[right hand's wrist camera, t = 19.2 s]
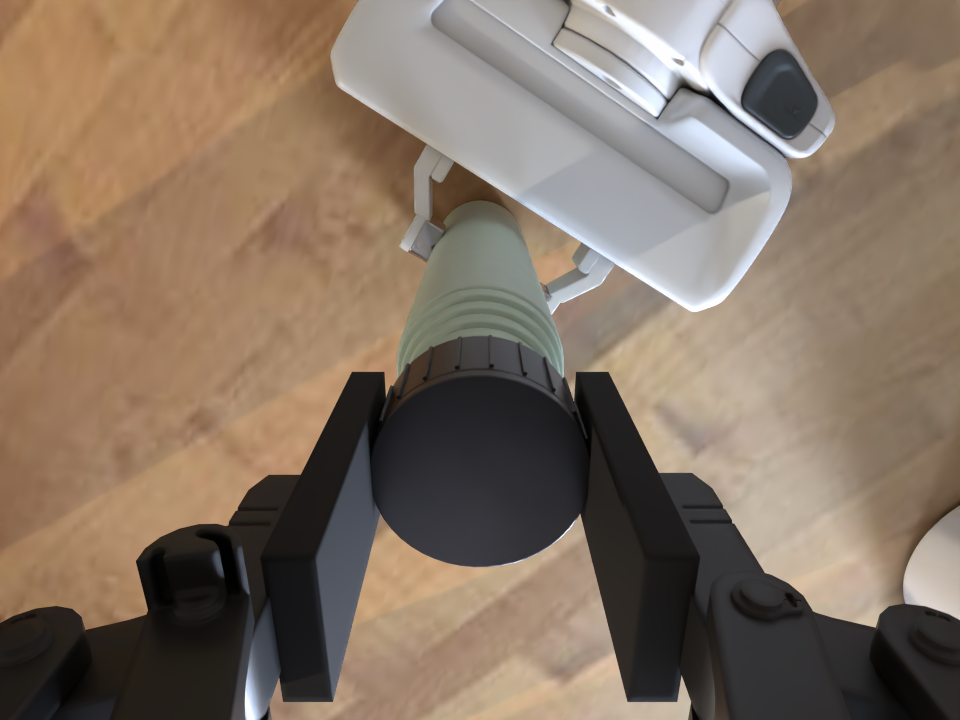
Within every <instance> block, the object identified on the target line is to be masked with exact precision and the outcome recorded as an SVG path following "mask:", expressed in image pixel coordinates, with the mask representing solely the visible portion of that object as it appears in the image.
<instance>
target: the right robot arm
mask: <svg viewBox="0 0 960 720" xmlns="http://www.w3.org/2000/svg"><path fill="white" fill-rule="evenodd" d="M385 400H386V392H385V376H384V372H352V373H351V375H350V377H349V379H348V381H347V383H346V385H345V387H344V389H343V391H342V393H341V395H340V397H339V399H338V401H337V403H336V405H335V407H334V409H333V411H332V413H331V415H330V417H329V419H328V421H327V423H326V425H325V427H324V429H323V431H322V433H321V435H320V437H319V439H318V441H317V443H316V445H315V447H314V449H313V451H312V453H311V455H310V458H309V460H308V462H307V464H306V466H305V468H304V470H303V472H302V474H301V475H268V476H267V477H265V478H264V479H263V480H261V481H260V482H259V483H257V484H256V485H255V486H253V487H252V488H251V489H249V490H248V492H247V494H246V495H245V497H244V498H243V500H242V502H241V503H240V505H239V507H238V511H235V513H234V515H233V516H232V518H231V519H230V521H229V526H223V525H219V524H198V525H194V526H189V527H185V528H181V529H178V530H176V531H173V532H171V533H169V534H167V535H164V536H162V537H160V538H159V539H157V540H156V541H155V542H153V543H152V544H151V545H149V546H148V547H147V548H145V549H144V551H143V552H142V554H141V555H140V556H139V558H138V559H137V560H136V563H137V567H138V571H139V575H140V579H141V583H142V587H143V591H144V595H145V599H146V603H147V607H148V612H147V615H144V616H141V617H137V618H134V619H131V620H127V621H123V622H118V623H114V624H110V625H105V626H101V627H97V628H92V629H88V630H85V627H84V624H83V621H82V617H81V616H80V615H79V614H77V613H76V612H75V611H74V610H73V609H70V608H64V607H58V606H53V607H45V608H37V609H33V610H30V611H27V612H24V613H21V614H18V615H15V616H13V617H11V618H9V619H7V620H5V621H3V622H2V623H0V720H272V719H271V712H270V707H269V704H270V701H271V698H272V695H273V692H274V690H275V687H276V684H277V681H278V678H280V684H281V691H282V697H283V702H333V699H334V695H335V691H336V687H337V683H338V679H339V675H340V671H341V667H342V663H343V659H344V655H345V651H346V647H347V643H348V639H349V635H350V631H351V627H352V623H353V619H354V615H355V611H356V607H357V603H358V599H359V595H360V591H361V587H362V583H363V579H364V575H365V571H366V567H367V563H368V559H369V555H370V551H371V547H372V543H373V539H374V536H375V532H376V528H377V524H378V520H379V516H380V511H379V510H378V508H377V505H376V503H375V500H374V498H373V494H372V482H371V468H370V455H371V451H372V446H373V443H374V440H375V437H376V434H377V431H378V428H379V425H380V424H379V423H378V421H379V418H380V415H381V412H382V409H383V406H384V403H385ZM574 402H576V404H577V407H578V410H579V413H580V416H581V419H582V422H583V425H584V428H585V431H586V434H587V437H588V441H587V445H588V449H589V453H590V474H589V487H588V497H587V499H586V502H585V504H584V507H583V509H582V511H581V512H580V514H581V518H582V522H583V526H584V530H585V534H586V538H587V542H588V546H589V550H590V554H591V558H592V562H593V566H594V570H595V574H596V578H597V582H598V586H599V590H600V594H601V598H602V602H603V606H604V610H605V614H606V618H607V622H608V626H609V630H610V634H611V638H612V642H613V646H614V650H615V654H616V658H617V662H618V666H619V670H620V674H621V678H622V682H623V686H624V689H625V693H626V697H627V701H628V702H677V699H678V693H679V687H680V681H681V674H682V677H683V680H684V683H685V685H686V688H687V691H688V694H689V697H690V699H691V707H690V712H689V718H688V720H960V620H959V619H957V618H955V617H953V616H951V615H950V614H947V613H944V612H941V611H938V610H935V609H932V608H929V607H926V606H920V605H912V604H900V605H895V606H889V607H888V608H887V609H886V610H884V611H883V612H882V613H881V614H880V616H879V619H878V622H877V626H876V628H874V627H870V626H866V625H861V624H857V623H853V622H848V621H844V620H840V619H835V618H831V617H828V616H825V615H821V614H818V613H815V612H813V611H812V609H811V607H810V606H809V604H808V603H807V601H806V599H805V598H804V596H803V595H802V594H800V593H799V592H798V591H797V590H796V589H794V588H793V587H792V586H791V585H790V584H788V583H786V582H784V581H782V580H780V579H778V578H776V577H774V576H772V575H769V574H766V573H764V571H763V569H762V568H761V566H760V565H759V563H758V561H757V560H756V558H755V556H754V555H753V553H752V552H751V550H750V548H749V547H748V545H747V544H746V542H745V540H744V539H743V537H742V536H741V534H740V532H739V531H738V529H737V528H736V526H735V524H732V519H731V518H730V516H729V515H728V513H727V511H726V510H725V509H723V505H722V503H721V502H720V500H719V499H718V497H717V495H716V494H715V492H714V490H713V489H712V488H711V487H710V486H709V485H707V484H706V483H705V482H703V481H702V480H701V479H699V478H698V477H697V476H695V475H694V474H693V473H658V471H657V469H656V467H655V465H654V463H653V461H652V459H651V457H650V455H649V453H648V451H647V449H646V447H645V445H644V443H643V441H642V439H641V437H640V435H639V433H638V431H637V429H636V427H635V425H634V423H633V421H632V419H631V417H630V415H629V413H628V411H627V409H626V407H625V405H624V403H623V400H622V398H621V396H620V394H619V392H618V390H617V388H616V386H615V384H614V382H613V380H612V378H611V376H610V374H609V372H576V382H575V398H574Z"/></svg>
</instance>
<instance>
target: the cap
mask: <svg viewBox="0 0 960 720" xmlns="http://www.w3.org/2000/svg"><path fill="white" fill-rule="evenodd" d="M378 423H379V424H380V425H379V428H378V431H377V434H376V437H375V440H374V443H373V446H372V451H371V455H370V468H371V482H372V494H373V498H374V500H375V503H376V505H377V508H378V510H379V511H380V513H381V515H382V517H383V518H384V520H385V521H386V522H387V524H388V525H389V526H390V528H391V529H392V530H393V531H394V532H395V533H396V534H397V535H398V536H399V537H400V538H401V539H402V540H404V541H405V542H406V543H407V544H409V545H410V546H411V547H413V548H415V549H416V550H418V551H420V552H421V553H423V554H425V555H427V556H430V557H432V558H434V559H437V560H440V561H443V562H446V563H450V564H455V565H459V566H468V567H493V566H501V565H506V564H511V563H515V562H518V561H521V560H524V559H527V558H529V557H531V556H533V555H535V554H538V553H540V552H541V551H543V550H544V549H546V548H548V547H549V546H551V545H552V544H553V543H555V542H556V541H557V540H558V539H560V538H561V537H562V536H563V535H564V534H565V533H566V532H567V531H568V530H569V529H570V527H571V526H572V525H573V523H574V522H575V521H576V519H577V518H578V516H579V514H580V512H581V511H582V509H583V507H584V504H585V502H586V499H587V497H588V487H589V474H590V453H589V449H588V445H587V441H588V437H587V434H586V431H585V428H584V425H583V422H582V419H581V416H580V413H579V410H578V407H577V404H576V402H574V401H573V398H572V395H571V392H570V389H569V386H568V383H567V380H566V378H565V377H564V378H562V376H561V375H560V374H559V372H558V371H557V370H556V369H555V367H554V366H552V365H551V364H550V363H549V361H548V358H547V357H546V356H545V357H542V356H541V355H539V354H538V353H537V352H535V351H533V350H532V349H530V348H528V347H526V346H524V345H522V343H521V342H518V343H516V342H514V341H511V340H507V339H503V338H498V337H492V335H489V336H471V337H463V338H462V337H461V336H459V337H458V339H454V340H450V341H447V342H444V343H442V344H439V345H437V346H434V347H433V346H431V347H429V350H427V351H425V352H424V353H422V354H421V355H420V356H418V357H417V358H416V359H414V360H413V361H412V362H411V363H410V364H409V363H407V364H406V365H405V369H404V371H403V372H402V373H401V375H400V376H399V377H398V379H397V380H396V382H395V384H394V386H392V385H391V386H390V388H389V391H388V394H387V397H386V400H385V403H384V406H383V409H382V412H381V415H380V418H379V421H378Z"/></svg>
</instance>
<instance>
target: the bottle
mask: <svg viewBox="0 0 960 720" xmlns="http://www.w3.org/2000/svg"><path fill="white" fill-rule="evenodd" d="M443 223H444V224H445V225H446V228H445V231H444V233H443V235H442V236H441V238H440V240H439V241H438V243H437V244H436V245H434V247H433V250H432V253H431V255H430V258H429V260H428V263H427V266H426V269H425V272H424V274H423V277H422V280H421V283H420V286H419V288H418V291H417V294H416V297H415V300H414V302H413V305H412V308H411V311H410V314H409V316H408V319H407V322H406V325H405V328H404V330H403V333H402V336H401V339H400V342H399V346H398V352H397V379H398V377H399V376H400V375H401V373H402V372H403V371H404V369H405V365H406V364H407V363H409V364H410V363H411V362H412V361H413V360H414V359H416V358H417V357H418V356H420V355H421V354H422V353H424V352H425V351H427V350H429V347H431V346H433V347H434V346H437V345H439V344H442V343H444V342H447V341H450V340H454V339H458V337H459V336H461V337H462V338H463V337H471V336H489V335H492V337H498V338H503V339H507V340H511V341H514V342H516V343H518V342H521V343H522V345H524V346H526V347H528V348H530V349H532V350H533V351H535V352H537V353H538V354H539V355H541V356H542V357H545V356H546V357H547V358H548V361H549V363H550V364H551V365H552V366H554V367H555V369H556V370H557V371H558V372H559V374H560V375H561V376H562V378H563V376H564V359H563V349H562V344H561V341H560V338H559V335H558V332H557V329H556V326H555V323H554V321H553V318H552V315H551V312H550V309H549V307H548V304H547V301H546V298H545V295H544V293H543V290H542V287H541V284H540V282H539V279H538V276H537V273H536V270H535V268H534V265H533V262H532V259H531V256H530V254H529V251H528V248H527V245H526V242H525V240H524V237H523V234H522V231H521V228H520V226H519V224H518V222H517V221H516V219H515V218H514V216H513V215H512V214H511V213H510V212H509V211H508V210H507V209H505V208H504V207H502V206H500V205H498V204H496V203H493V202H489V201H482V200H479V201H471V202H467V203H464V204H462V205H460V206H458V207H457V208H455V209H454V210H453V211H451V212H450V213H449V214H448V216H447V217H446V218H445V220H444V221H443Z"/></svg>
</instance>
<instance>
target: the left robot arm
mask: <svg viewBox="0 0 960 720" xmlns="http://www.w3.org/2000/svg"><path fill="white" fill-rule="evenodd" d="M780 1H781V0H358V2H357V4H356V5H355V7H354V9H353V10H352V12H351V14H350V15H349V17H348V19H347V20H346V22H345V24H344V26H343V28H342V30H341V31H340V33H339V35H338V37H337V39H336V41H335V43H334V45H333V48H332V50H331V55H330V56H331V64H332V70H333V74H334V78H335V82H336V84H337V86H338V87H339V88H340V89H342V90H343V91H345V92H346V93H348V94H349V95H351V96H353V97H354V98H356V99H357V100H359V101H361V102H362V103H364V104H365V105H367V106H368V107H370V108H372V109H373V110H375V111H376V112H378V113H379V114H381V115H383V116H384V117H386V118H387V119H389V120H390V121H392V122H394V123H395V124H397V125H398V126H400V127H401V128H403V129H405V130H406V131H408V132H409V133H411V134H412V135H414V136H416V137H417V138H419V139H420V140H422V141H423V142H425V143H427V144H426V146H425V148H424V150H423V152H422V154H421V155H420V157H419V159H418V161H417V163H416V164H415V166H414V213H416V214H417V215H416V217H415V218H414V220H413V222H412V224H411V225H410V227H409V229H408V231H407V232H406V234H405V236H404V238H403V240H402V241H401V243H400V245H399V247H401V248H402V249H404V250H405V251H407V252H408V251H409V253H411V254H412V255H414V256H416V257H418V258H419V259H421V260H423V261H425V262H427V260H428V259H429V257H430V255H431V253H432V250H433V247H434V245H436V244H437V243H438V241H439V240H440V238H441V236H442V235H443V233H444V231H445V228H446V225H445V224H444V223H442V222H440V221H439V220H437V219H436V218H434V217H433V216H432V194H433V179H434V180H436V181H437V182H439V183H440V182H443V180H444V179H445V177H446V175H447V174H448V172H449V170H450V168H451V167H452V165H453V163H454V162H456V163H458V164H460V165H461V166H463V167H464V168H466V169H467V170H469V171H471V172H472V173H474V174H475V175H477V176H478V177H480V178H482V179H483V180H485V181H486V182H488V183H489V184H491V185H493V186H494V187H496V188H497V189H499V190H500V191H502V192H504V193H505V194H507V195H508V196H510V197H511V198H513V199H515V200H516V201H518V202H519V203H521V204H522V205H524V206H526V207H527V208H529V209H530V210H532V211H533V212H535V213H537V214H538V215H540V216H541V217H543V218H544V219H546V220H548V221H549V222H551V223H552V224H554V225H556V226H557V227H559V228H560V229H562V230H563V231H565V232H567V233H568V234H570V235H571V236H573V237H574V238H576V239H578V240H579V241H581V242H582V243H581V244H580V246H579V247H578V249H577V250H576V252H575V253H574V255H573V257H572V260H573V262H574V263H575V265H576V266H577V268H575V269H574V270H572V271H570V272H568V273H566V274H564V275H563V276H561V277H559V278H557V279H555V280H553V281H552V282H550V283H548V284H546V285H544V284H542V283H540V284H541V287H542V290H543V293H544V295H545V298H546V301H547V304H548V307H549V309H550V312H551V315H552V313H553V312H554V310H555V309H556V307H557V306H558V305H559V303H560V302H562V303H564V302H566V301H568V300H570V299H572V298H574V297H576V296H578V295H580V294H582V293H584V292H586V291H588V290H590V289H592V288H594V287H597V286H599V285H601V283H602V282H603V280H604V279H605V278H606V276H607V275H608V273H609V272H610V271H611V269H612V268H613V266H614V265H615V264H617V265H618V266H620V267H622V268H623V269H625V270H626V271H628V272H629V273H631V274H633V275H634V276H636V277H637V278H639V279H640V280H642V281H644V282H645V283H647V284H648V285H650V286H651V287H653V288H655V289H656V290H658V291H659V292H661V293H662V294H664V295H666V296H667V297H669V298H670V299H672V300H673V301H675V302H677V303H678V304H680V305H681V306H683V307H685V308H686V309H688V310H689V311H692V312H697V311H700V310H704V309H706V308H709V307H712V306H714V305H717V304H719V303H721V302H722V301H723V300H724V299H725V298H726V297H727V296H728V295H729V294H730V292H731V291H732V290H733V289H734V287H735V286H736V285H737V283H738V282H739V281H740V280H741V278H742V277H743V275H744V274H745V273H746V271H747V270H748V269H749V267H750V266H751V264H752V263H753V261H754V260H755V259H756V257H757V256H758V254H759V253H760V251H761V250H762V248H763V247H764V245H765V243H766V242H767V240H768V239H769V237H770V235H771V234H772V232H773V231H774V229H775V227H776V226H777V224H778V222H779V221H780V219H781V217H782V215H783V213H784V211H785V209H786V207H787V204H788V202H789V198H790V194H791V190H792V175H791V170H790V167H789V165H788V163H787V161H786V160H785V158H804V157H808V156H810V155H811V154H813V153H814V152H815V151H816V150H817V149H818V148H819V147H820V146H821V145H822V144H823V143H824V141H825V140H826V138H828V136H829V135H830V133H831V132H832V130H833V127H834V125H835V114H834V111H833V108H832V106H831V104H830V102H829V100H828V99H827V97H826V95H825V94H824V92H823V91H822V89H821V87H820V86H819V84H818V83H817V81H816V79H815V78H814V76H813V74H812V73H811V71H810V69H809V68H808V66H807V64H806V63H805V61H804V59H803V58H802V56H801V54H800V53H799V51H798V49H797V47H796V46H795V44H794V42H793V40H792V38H791V36H790V35H789V33H788V31H787V29H786V27H785V25H784V23H783V21H782V19H781V17H780V15H779V13H778V11H777V9H776V6H777V5H778V4H779V2H780ZM903 595H904V601H905V604H912V605H920V606H926V607H929V608H932V609H935V610H938V611H941V612H944V613H947V614H950V615H951V616H953V617H955V618H957V619H959V620H960V506H958V507H957V508H955V509H954V510H952V511H951V512H949V513H948V514H947V515H946V516H944V517H943V518H942V519H941V520H940V521H938V522H937V523H936V524H935V525H934V526H933V527H932V528H931V529H930V530H929V531H928V532H927V534H926V535H925V536H924V537H923V538H922V540H921V541H920V542H919V544H918V545H917V547H916V548H915V550H914V552H913V554H912V556H911V558H910V560H909V562H908V565H907V568H906V571H905V575H904V581H903Z"/></svg>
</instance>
